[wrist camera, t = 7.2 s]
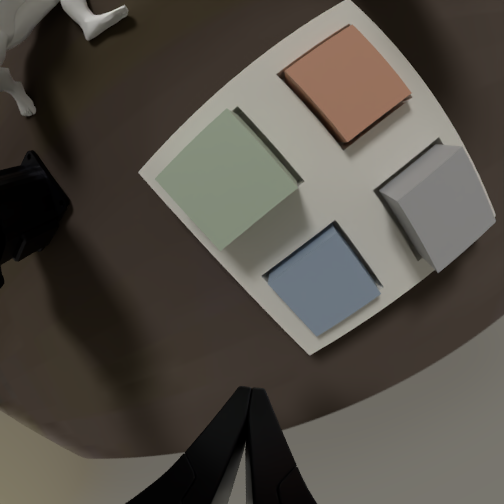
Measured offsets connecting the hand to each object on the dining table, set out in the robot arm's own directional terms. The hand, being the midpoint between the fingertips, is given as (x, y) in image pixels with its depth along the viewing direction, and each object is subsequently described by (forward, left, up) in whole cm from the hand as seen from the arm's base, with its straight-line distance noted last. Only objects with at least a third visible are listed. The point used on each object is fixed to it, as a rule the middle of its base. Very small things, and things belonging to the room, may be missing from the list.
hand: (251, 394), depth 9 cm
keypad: (-2, +6, -11) cm, 13 cm away
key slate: (+2, +3, -10) cm, 10 cm away
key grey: (+2, +10, -8) cm, 13 cm away
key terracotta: (-6, +10, -10) cm, 15 cm away
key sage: (-6, +3, -8) cm, 10 cm away
